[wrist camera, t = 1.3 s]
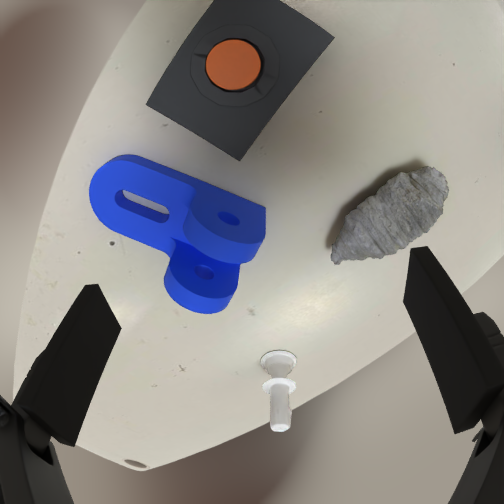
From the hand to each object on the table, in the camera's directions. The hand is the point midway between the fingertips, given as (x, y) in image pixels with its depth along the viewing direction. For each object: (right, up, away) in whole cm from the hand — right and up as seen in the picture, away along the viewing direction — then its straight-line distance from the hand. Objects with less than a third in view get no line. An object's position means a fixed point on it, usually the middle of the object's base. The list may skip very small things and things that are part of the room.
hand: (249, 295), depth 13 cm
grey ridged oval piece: (+14, +7, +20) cm, 25 cm away
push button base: (-1, +18, +13) cm, 22 cm away
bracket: (-8, +6, +21) cm, 23 cm away
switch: (-1, +16, +9) cm, 19 cm away
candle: (+4, -14, +33) cm, 36 cm away
